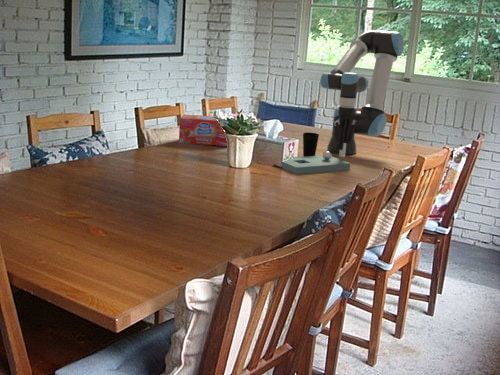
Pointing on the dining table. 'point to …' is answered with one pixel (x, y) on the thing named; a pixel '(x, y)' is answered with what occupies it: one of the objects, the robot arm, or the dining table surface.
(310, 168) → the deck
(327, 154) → the ball
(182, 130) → the box
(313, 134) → the cup
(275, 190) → the dining table surface
